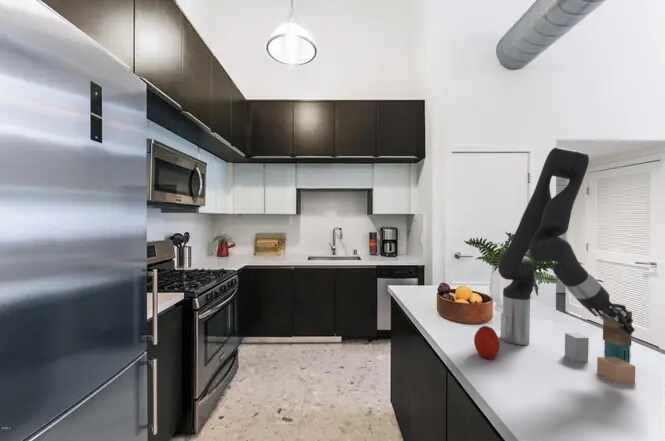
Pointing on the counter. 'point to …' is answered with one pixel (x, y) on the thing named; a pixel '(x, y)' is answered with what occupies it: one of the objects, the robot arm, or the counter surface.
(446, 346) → the counter surface
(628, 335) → the tan rectangular block
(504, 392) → the counter surface
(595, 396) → the counter surface
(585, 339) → the grey post
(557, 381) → the counter surface
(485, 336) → the red ellipsoid
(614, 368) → the terracotta block
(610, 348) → the beverage bottle
